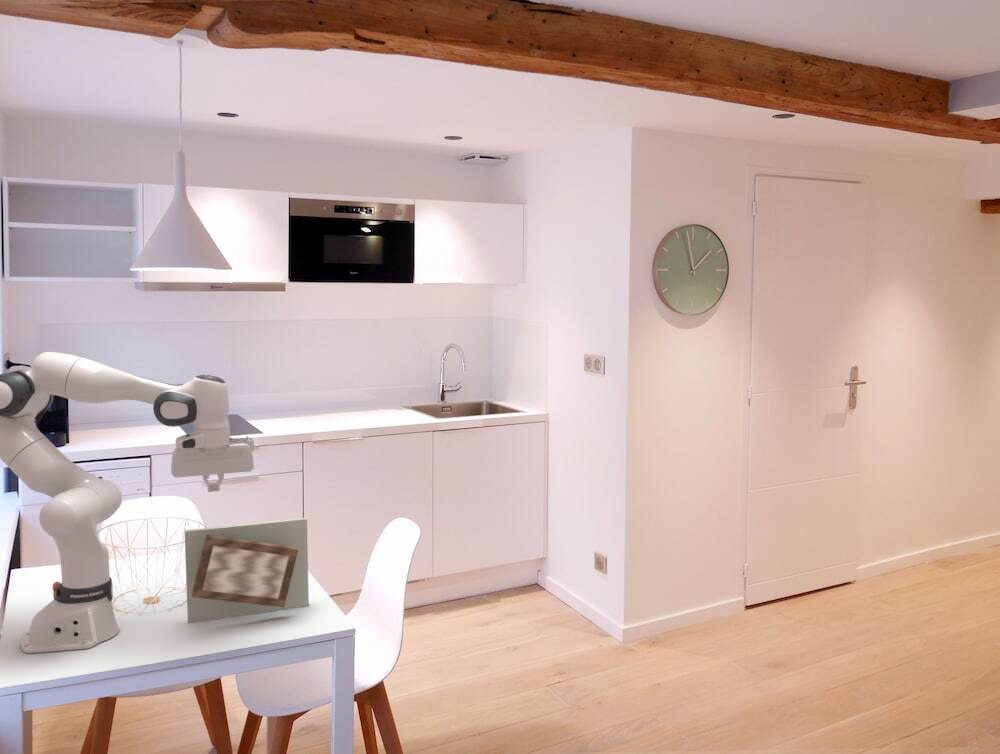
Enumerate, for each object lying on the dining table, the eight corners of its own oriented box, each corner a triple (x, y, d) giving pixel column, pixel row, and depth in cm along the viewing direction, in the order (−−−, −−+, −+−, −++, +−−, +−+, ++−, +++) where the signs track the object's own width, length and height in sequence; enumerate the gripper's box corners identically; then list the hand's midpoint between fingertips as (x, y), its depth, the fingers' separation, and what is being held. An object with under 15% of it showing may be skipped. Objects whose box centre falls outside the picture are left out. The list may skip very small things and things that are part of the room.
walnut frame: (192, 597, 224) (207, 537, 224) (191, 594, 226) (206, 534, 226) (284, 607, 234) (298, 549, 234) (282, 604, 236) (296, 547, 236)
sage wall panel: (189, 629, 227) (186, 536, 225) (187, 621, 233) (184, 530, 230) (311, 611, 240) (310, 523, 237) (307, 604, 246) (305, 517, 243)
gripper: (251, 433, 230) (253, 484, 232) (169, 439, 222) (171, 492, 223) (255, 437, 224) (256, 489, 226) (171, 443, 216) (173, 497, 218)
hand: (213, 491), depth 225 cm, fingers closed
